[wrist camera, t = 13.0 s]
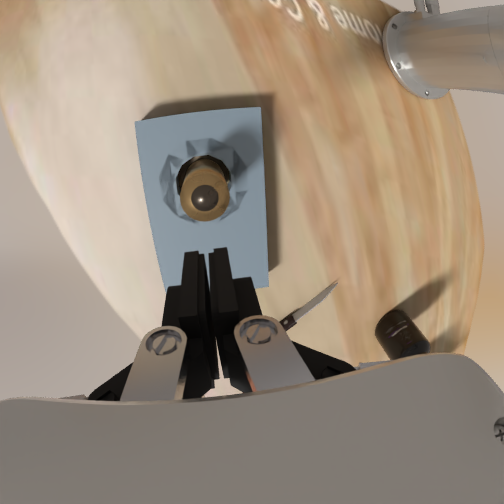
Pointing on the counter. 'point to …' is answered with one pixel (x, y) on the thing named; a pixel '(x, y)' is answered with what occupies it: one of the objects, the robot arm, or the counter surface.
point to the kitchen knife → (306, 308)
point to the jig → (240, 185)
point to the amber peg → (204, 191)
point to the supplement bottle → (400, 336)
